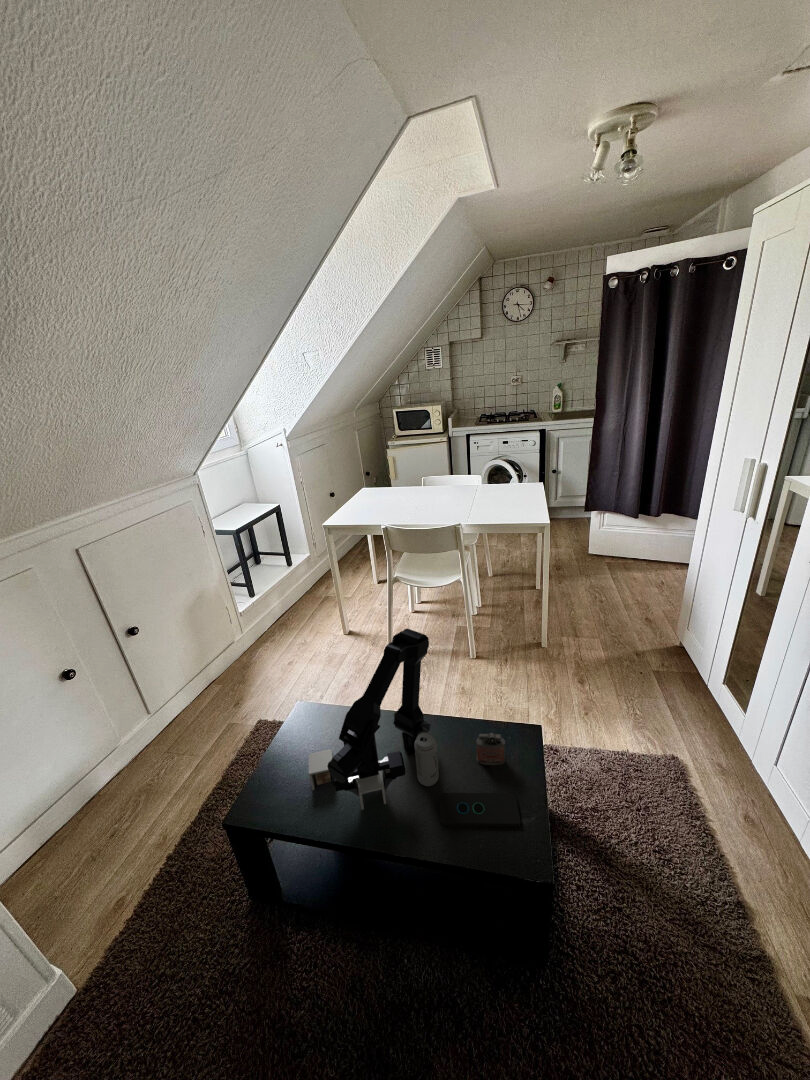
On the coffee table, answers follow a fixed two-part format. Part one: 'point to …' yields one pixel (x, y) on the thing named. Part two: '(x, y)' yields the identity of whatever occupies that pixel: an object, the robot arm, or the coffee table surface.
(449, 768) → the coffee table surface
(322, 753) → the grey piece
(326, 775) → the brown wooden cube
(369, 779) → the grey stool
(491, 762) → the lighter
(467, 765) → the coffee table surface
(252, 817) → the coffee table surface
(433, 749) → the energy drink can
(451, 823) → the smart home device
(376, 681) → the robot arm
